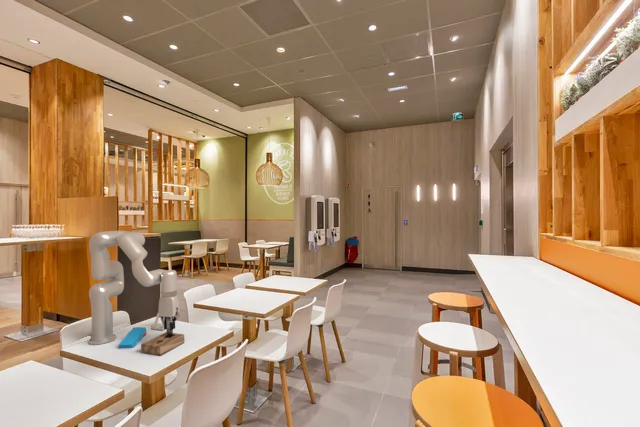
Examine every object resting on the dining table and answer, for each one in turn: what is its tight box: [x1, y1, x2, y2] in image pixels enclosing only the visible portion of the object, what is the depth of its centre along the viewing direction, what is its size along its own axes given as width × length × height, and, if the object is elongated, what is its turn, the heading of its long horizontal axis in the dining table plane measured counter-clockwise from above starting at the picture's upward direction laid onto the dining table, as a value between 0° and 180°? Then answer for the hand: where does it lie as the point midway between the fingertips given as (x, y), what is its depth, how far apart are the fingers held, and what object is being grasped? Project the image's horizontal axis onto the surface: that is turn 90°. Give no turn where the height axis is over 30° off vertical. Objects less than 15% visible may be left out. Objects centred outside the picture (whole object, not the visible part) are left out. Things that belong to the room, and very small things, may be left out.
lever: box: [117, 326, 148, 350], centre depth 167 cm, size 7×7×18 cm
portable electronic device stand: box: [150, 312, 165, 332], centre depth 186 cm, size 9×8×8 cm
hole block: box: [140, 331, 185, 357], centre depth 158 cm, size 12×16×4 cm
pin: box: [165, 317, 174, 337], centre depth 162 cm, size 3×3×10 cm
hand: (169, 328), depth 162 cm, fingers closed on pin, 3 cm apart
